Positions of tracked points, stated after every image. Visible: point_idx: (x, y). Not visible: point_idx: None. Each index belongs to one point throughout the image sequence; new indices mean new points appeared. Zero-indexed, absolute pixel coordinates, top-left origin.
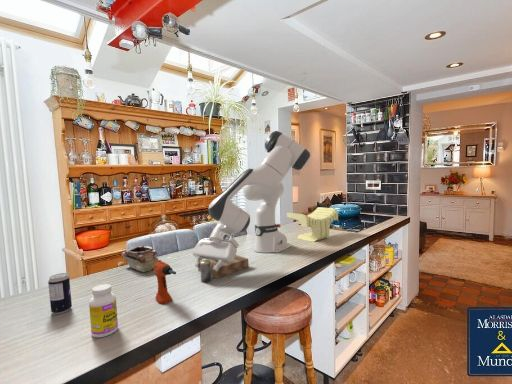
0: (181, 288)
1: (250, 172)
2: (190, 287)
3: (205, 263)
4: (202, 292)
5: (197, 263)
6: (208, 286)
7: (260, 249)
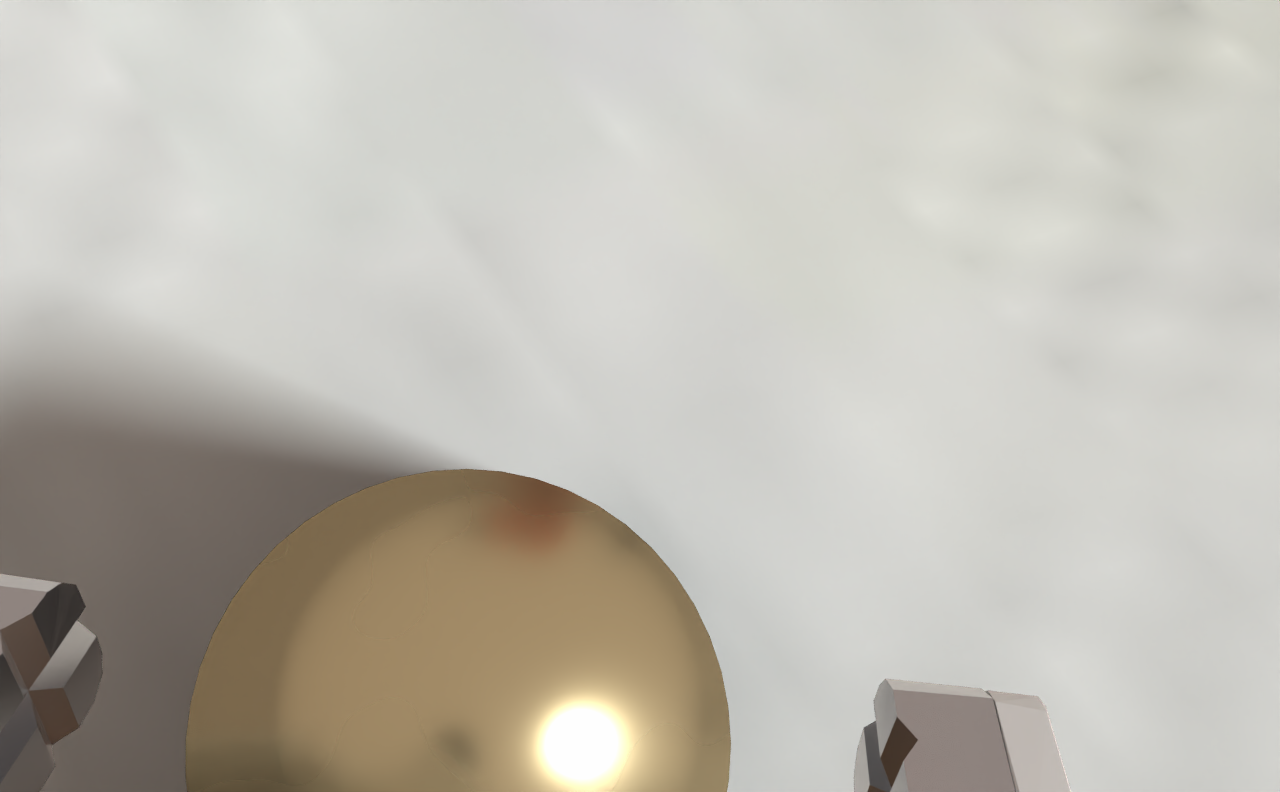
0: (840, 46)
1: None
2: (674, 157)
3: (304, 534)
4: (238, 26)
5: (980, 777)
6: (285, 343)
7: None
